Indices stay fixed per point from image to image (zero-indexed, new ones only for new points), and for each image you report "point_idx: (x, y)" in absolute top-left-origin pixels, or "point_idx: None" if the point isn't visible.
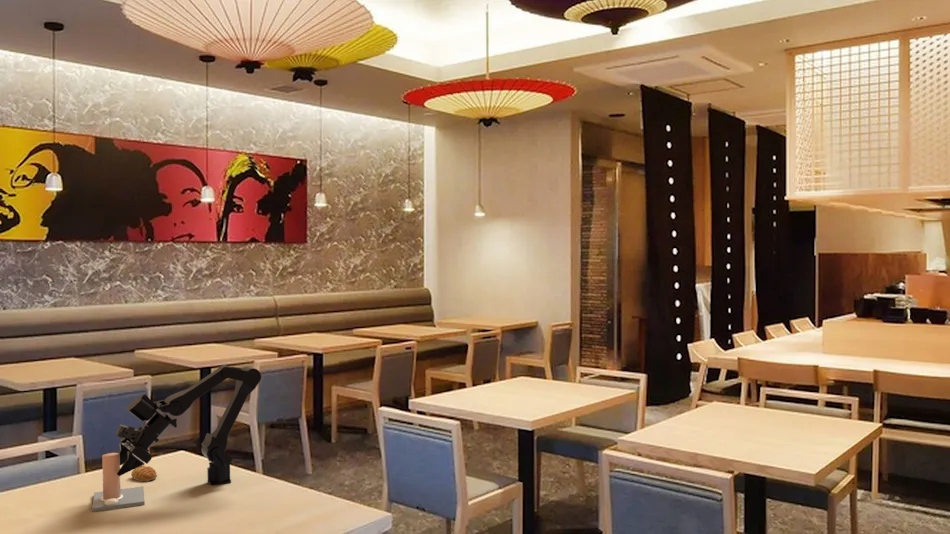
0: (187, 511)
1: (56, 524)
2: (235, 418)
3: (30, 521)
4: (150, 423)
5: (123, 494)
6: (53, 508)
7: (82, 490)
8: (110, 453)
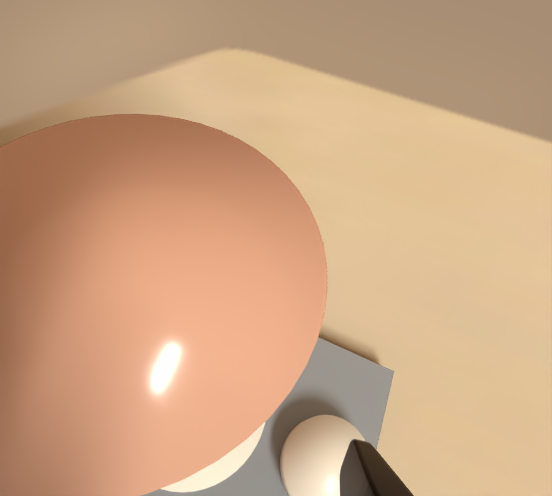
0: None
1: (95, 109)
2: None
3: (220, 86)
4: None
5: None
6: (313, 177)
7: (532, 371)
8: (285, 309)
